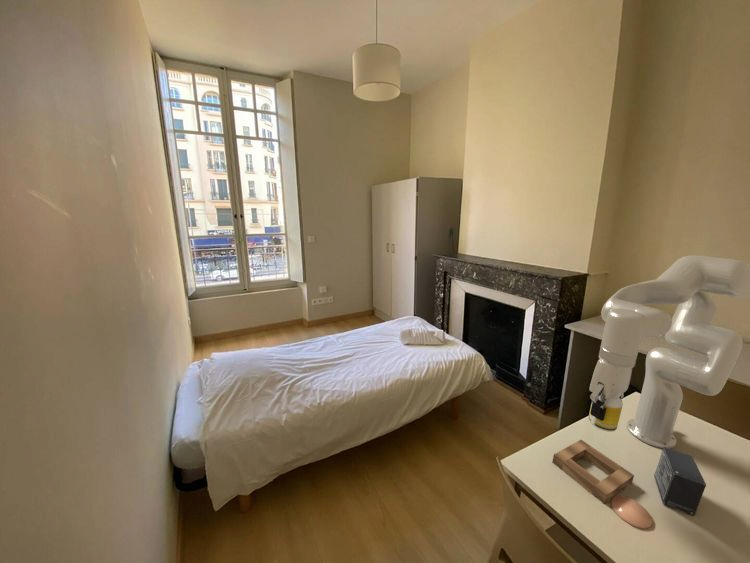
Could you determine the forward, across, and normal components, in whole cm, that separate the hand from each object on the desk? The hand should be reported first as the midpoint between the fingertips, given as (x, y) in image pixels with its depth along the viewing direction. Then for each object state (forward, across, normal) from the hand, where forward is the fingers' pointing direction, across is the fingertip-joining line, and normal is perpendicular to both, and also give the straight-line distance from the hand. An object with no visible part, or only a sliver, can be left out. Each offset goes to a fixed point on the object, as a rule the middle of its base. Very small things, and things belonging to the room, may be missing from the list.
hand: (604, 412), depth 83 cm
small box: (+21, -12, +14) cm, 28 cm away
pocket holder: (+21, +1, 0) cm, 21 cm away
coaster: (+21, +4, +12) cm, 24 cm away
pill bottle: (+4, 0, 0) cm, 4 cm away
